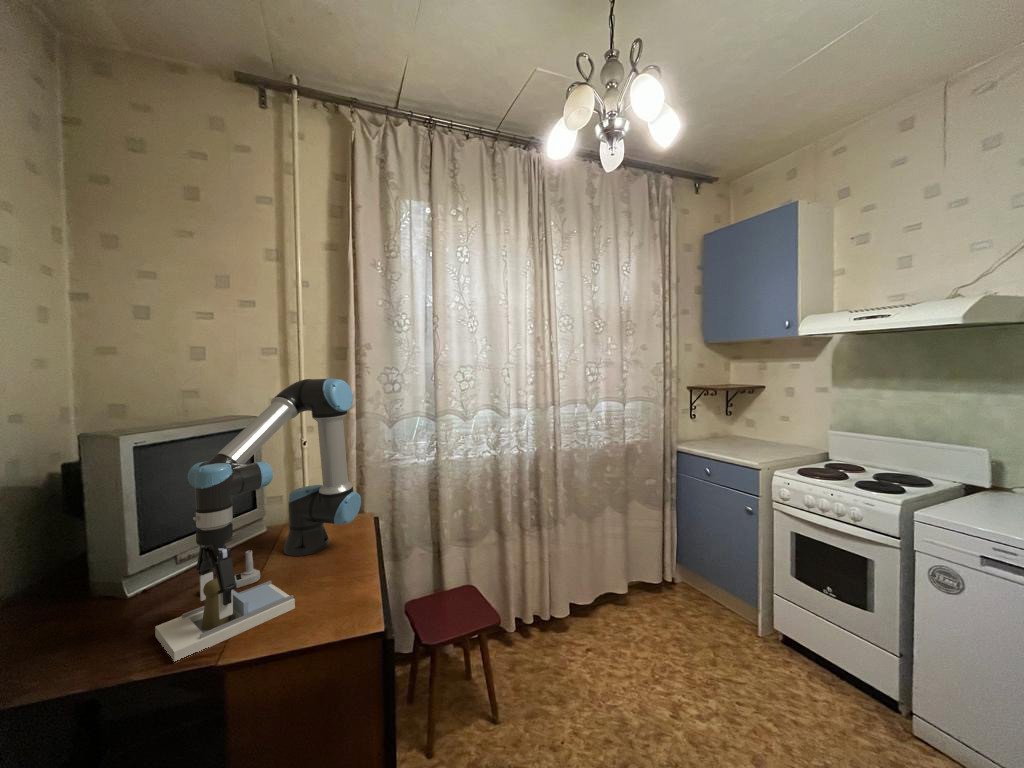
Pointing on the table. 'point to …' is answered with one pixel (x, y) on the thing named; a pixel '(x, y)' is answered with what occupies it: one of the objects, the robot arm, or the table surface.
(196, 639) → the socket plate
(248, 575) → the electronic device
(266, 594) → the panel
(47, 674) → the table surface
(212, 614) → the cork
